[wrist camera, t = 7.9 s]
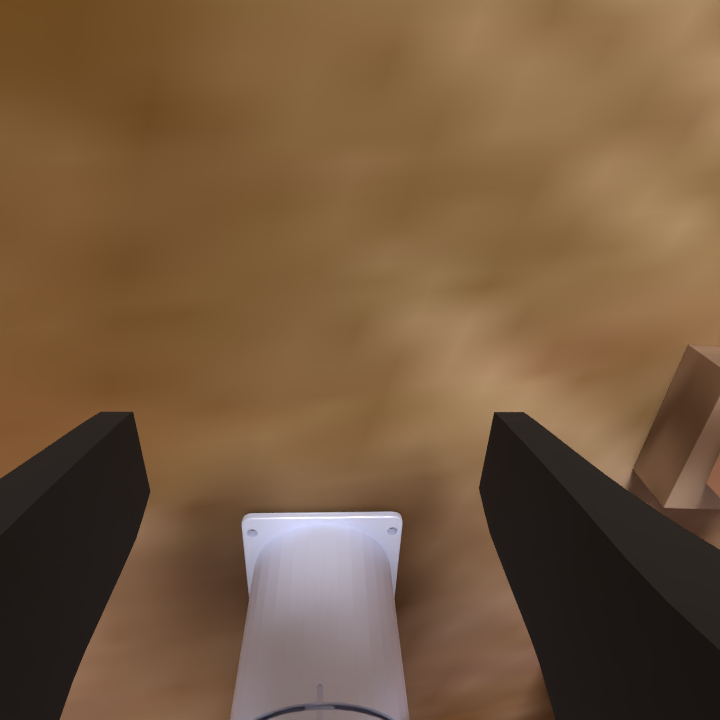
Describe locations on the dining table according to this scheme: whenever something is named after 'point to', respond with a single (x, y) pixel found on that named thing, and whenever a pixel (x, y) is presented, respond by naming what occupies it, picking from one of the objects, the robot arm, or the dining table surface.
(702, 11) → the dining table surface
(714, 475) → the peach block
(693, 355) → the wood slab
